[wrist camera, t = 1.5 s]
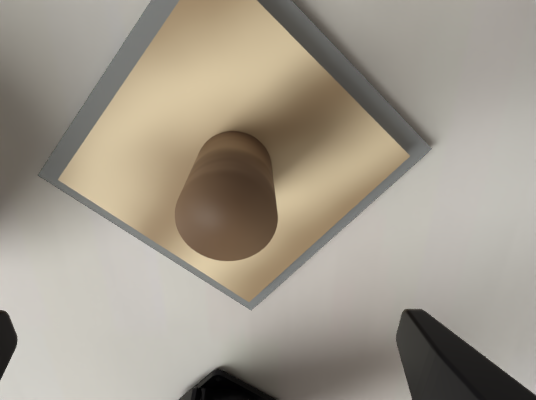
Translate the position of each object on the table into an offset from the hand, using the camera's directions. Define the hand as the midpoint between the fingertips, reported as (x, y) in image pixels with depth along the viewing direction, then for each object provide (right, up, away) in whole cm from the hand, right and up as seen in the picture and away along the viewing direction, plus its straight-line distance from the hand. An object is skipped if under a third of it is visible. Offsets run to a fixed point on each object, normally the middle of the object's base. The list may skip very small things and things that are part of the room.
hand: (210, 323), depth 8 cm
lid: (0, +5, +9) cm, 11 cm away
